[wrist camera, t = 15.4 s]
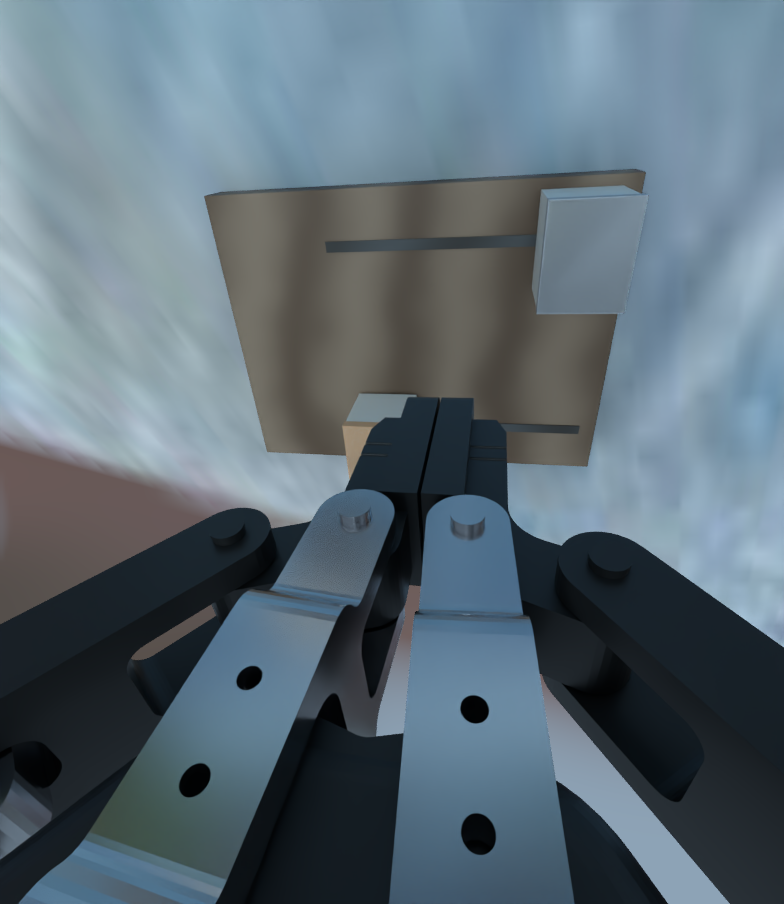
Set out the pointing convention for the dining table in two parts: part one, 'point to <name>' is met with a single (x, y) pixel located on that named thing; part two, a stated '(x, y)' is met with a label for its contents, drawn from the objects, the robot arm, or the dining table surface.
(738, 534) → the dining table surface
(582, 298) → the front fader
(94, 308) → the dining table surface
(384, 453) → the robot arm
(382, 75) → the dining table surface
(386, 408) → the back fader
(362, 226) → the fader board
